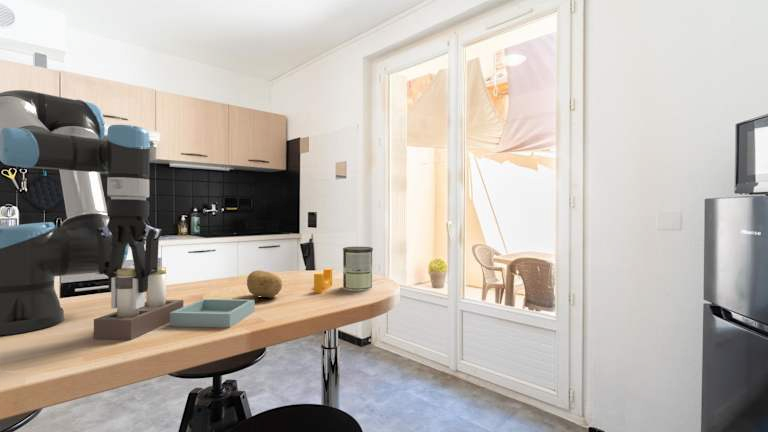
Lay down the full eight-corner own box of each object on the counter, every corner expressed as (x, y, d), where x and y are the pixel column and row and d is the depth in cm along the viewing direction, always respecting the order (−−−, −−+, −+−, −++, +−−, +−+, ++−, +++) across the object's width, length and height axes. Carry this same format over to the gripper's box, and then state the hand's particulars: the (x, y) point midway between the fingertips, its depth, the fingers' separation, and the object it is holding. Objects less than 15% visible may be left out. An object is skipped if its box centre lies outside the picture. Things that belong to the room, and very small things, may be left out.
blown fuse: (111, 327, 80) (111, 270, 80) (126, 321, 84) (126, 267, 84) (130, 327, 80) (130, 270, 79) (143, 321, 84) (144, 267, 84)
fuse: (141, 320, 89) (142, 269, 89) (153, 316, 93) (153, 267, 93) (158, 321, 88) (158, 269, 88) (169, 316, 92) (169, 267, 92)
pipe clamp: (320, 286, 135) (320, 268, 135) (332, 287, 134) (332, 268, 134) (308, 293, 123) (308, 273, 123) (321, 294, 122) (321, 274, 122)
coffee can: (337, 288, 132) (337, 247, 132) (361, 284, 138) (361, 246, 138) (354, 292, 124) (354, 249, 124) (378, 289, 130) (378, 248, 130)
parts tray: (169, 326, 86) (169, 312, 86) (202, 310, 100) (202, 298, 100) (229, 327, 85) (229, 314, 85) (254, 311, 99) (254, 299, 99)
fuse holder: (93, 338, 77) (93, 319, 77) (152, 315, 95) (152, 299, 95) (131, 339, 77) (131, 320, 77) (183, 316, 95) (183, 300, 95)
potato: (259, 304, 107) (259, 276, 107) (239, 296, 118) (239, 270, 118) (290, 299, 114) (290, 272, 114) (269, 292, 124) (269, 267, 124)
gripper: (75, 197, 78) (75, 310, 78) (155, 198, 77) (154, 313, 77) (104, 198, 86) (104, 301, 86) (177, 199, 85) (176, 304, 85)
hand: (128, 306), depth 82 cm, fingers closed on blown fuse, 4 cm apart
